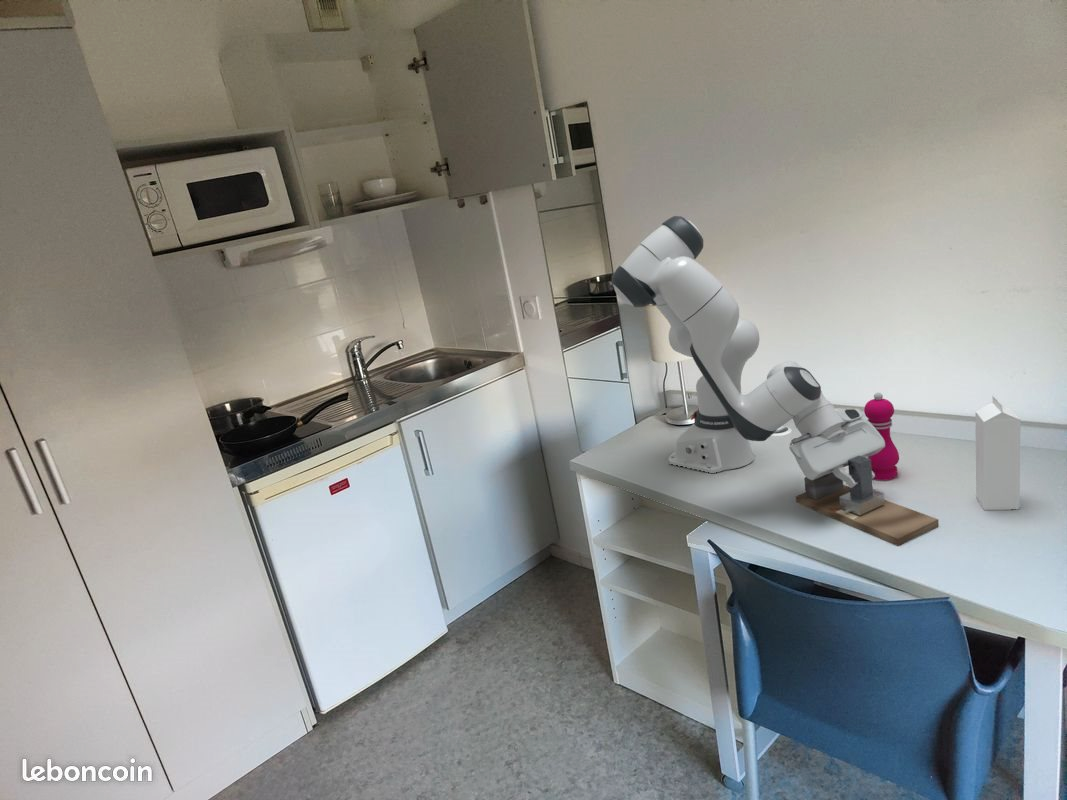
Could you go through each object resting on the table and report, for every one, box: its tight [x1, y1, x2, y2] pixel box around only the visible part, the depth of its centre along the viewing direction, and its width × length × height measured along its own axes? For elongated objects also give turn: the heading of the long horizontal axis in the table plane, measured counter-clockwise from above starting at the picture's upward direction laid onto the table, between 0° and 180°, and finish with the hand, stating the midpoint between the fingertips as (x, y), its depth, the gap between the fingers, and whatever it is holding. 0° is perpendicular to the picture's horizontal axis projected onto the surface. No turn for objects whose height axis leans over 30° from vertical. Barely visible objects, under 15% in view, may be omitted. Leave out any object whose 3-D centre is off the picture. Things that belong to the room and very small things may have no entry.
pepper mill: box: [863, 392, 900, 481], centre depth 155 cm, size 7×7×20 cm
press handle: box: [839, 456, 885, 515], centre depth 141 cm, size 5×8×10 cm, turn 114°
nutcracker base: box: [795, 472, 939, 547], centre depth 142 cm, size 26×11×9 cm, turn 24°
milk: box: [975, 395, 1021, 511], centre depth 134 cm, size 6×6×22 cm
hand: (863, 482), depth 141 cm, fingers closed on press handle, 3 cm apart
